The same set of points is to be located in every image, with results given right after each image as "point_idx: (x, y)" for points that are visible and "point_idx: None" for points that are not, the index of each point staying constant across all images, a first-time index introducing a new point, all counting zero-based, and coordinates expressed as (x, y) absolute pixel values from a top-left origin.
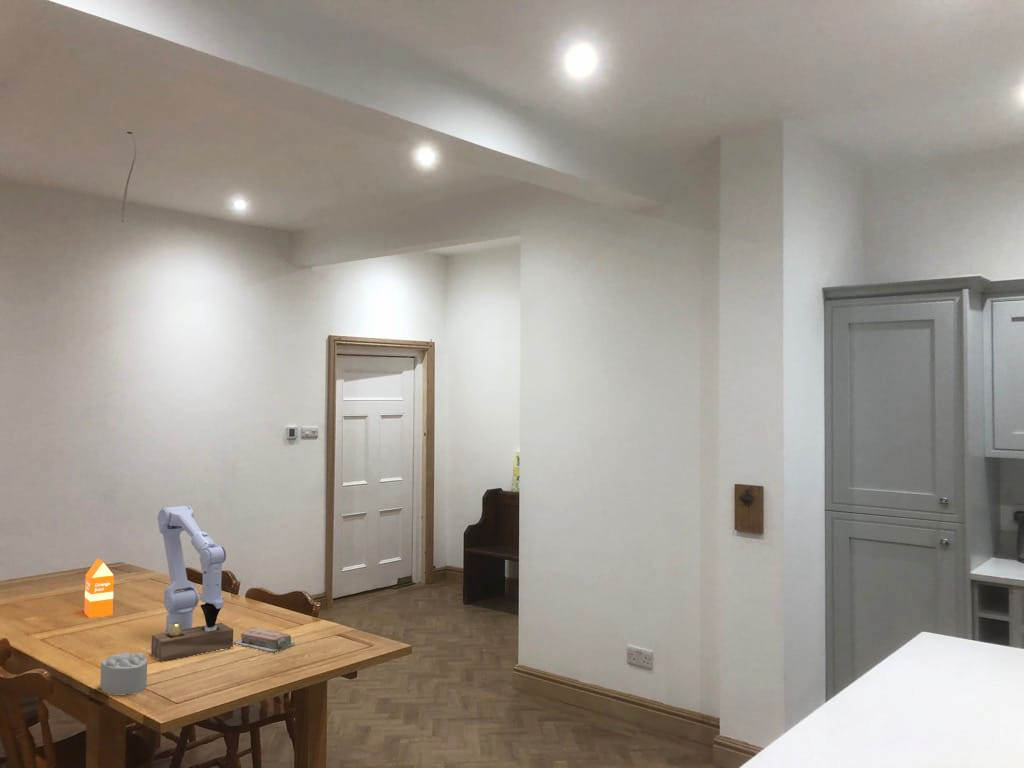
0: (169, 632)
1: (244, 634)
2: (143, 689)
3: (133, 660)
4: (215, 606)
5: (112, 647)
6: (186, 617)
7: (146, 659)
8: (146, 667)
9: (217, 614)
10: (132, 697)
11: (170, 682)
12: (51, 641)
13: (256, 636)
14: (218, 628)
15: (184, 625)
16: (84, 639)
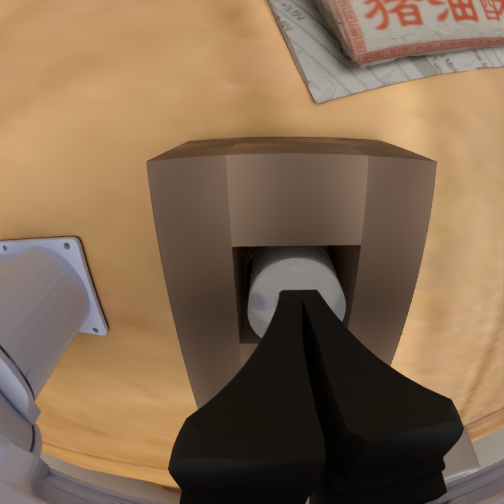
0: None
1: (383, 51)
2: (465, 429)
3: None
4: (476, 478)
5: (110, 427)
6: (32, 350)
7: (466, 471)
8: (471, 458)
9: (373, 358)
10: (472, 435)
11: (483, 397)
12: (49, 441)
13: (474, 37)
14: (319, 244)
15: (58, 331)
16: (41, 420)
